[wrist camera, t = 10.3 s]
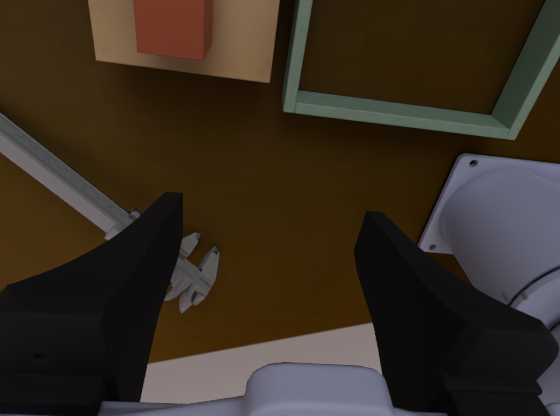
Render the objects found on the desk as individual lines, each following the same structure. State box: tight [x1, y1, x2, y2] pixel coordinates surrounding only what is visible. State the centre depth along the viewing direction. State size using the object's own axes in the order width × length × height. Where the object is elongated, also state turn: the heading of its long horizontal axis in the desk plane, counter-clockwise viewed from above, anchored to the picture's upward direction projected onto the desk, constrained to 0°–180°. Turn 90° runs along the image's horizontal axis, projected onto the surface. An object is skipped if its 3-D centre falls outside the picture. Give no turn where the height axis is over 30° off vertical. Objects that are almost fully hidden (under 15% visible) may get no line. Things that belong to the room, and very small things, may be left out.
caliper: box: [0, 112, 220, 313], centre depth 21 cm, size 20×1×6 cm, turn 46°
